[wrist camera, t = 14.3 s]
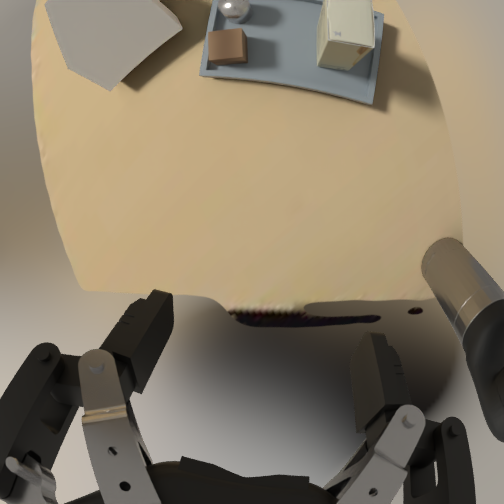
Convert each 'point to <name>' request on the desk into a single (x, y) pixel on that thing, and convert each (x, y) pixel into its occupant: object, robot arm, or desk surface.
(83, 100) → the desk surface
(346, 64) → the skincare box
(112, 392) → the robot arm
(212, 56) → the walnut block
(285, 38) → the blue-grey serving tray
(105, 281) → the desk surface
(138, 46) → the slotted wedge
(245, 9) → the chrome dome knob
